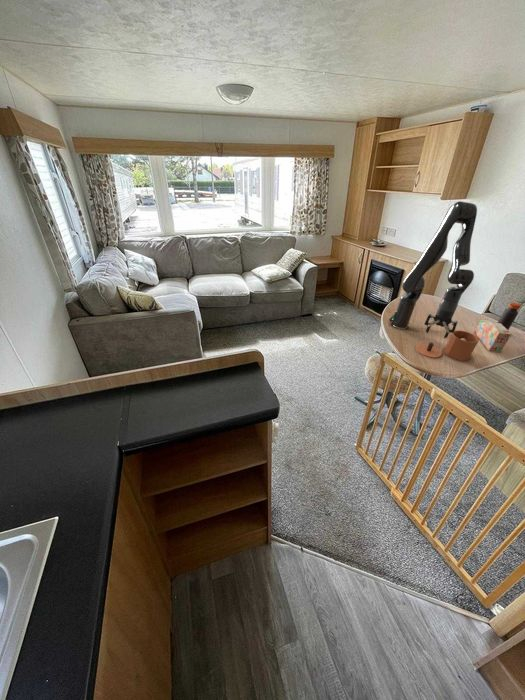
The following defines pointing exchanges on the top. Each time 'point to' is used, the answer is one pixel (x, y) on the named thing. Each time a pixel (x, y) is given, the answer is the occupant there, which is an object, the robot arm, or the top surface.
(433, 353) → the lid
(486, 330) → the colourful patterned box
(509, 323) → the bottle
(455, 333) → the pot
